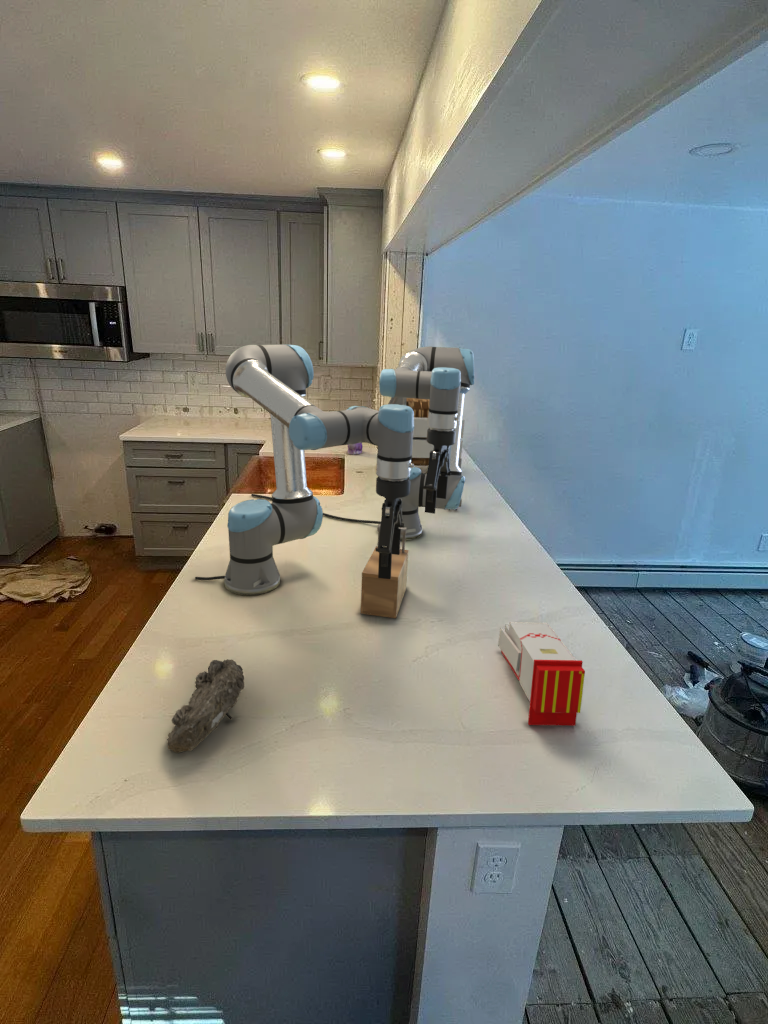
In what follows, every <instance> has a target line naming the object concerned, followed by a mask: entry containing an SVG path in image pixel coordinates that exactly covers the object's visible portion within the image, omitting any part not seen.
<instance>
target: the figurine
mask: <svg viewBox="0 0 768 1024" xmlns="http://www.w3.org/2000/svg"><path fill="white" fill-rule="evenodd" d="M363 447H364V446H363V443H356V444H349V445H347V451H346V452H347V454H348V455H360V454H362V452H363Z"/></svg>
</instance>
